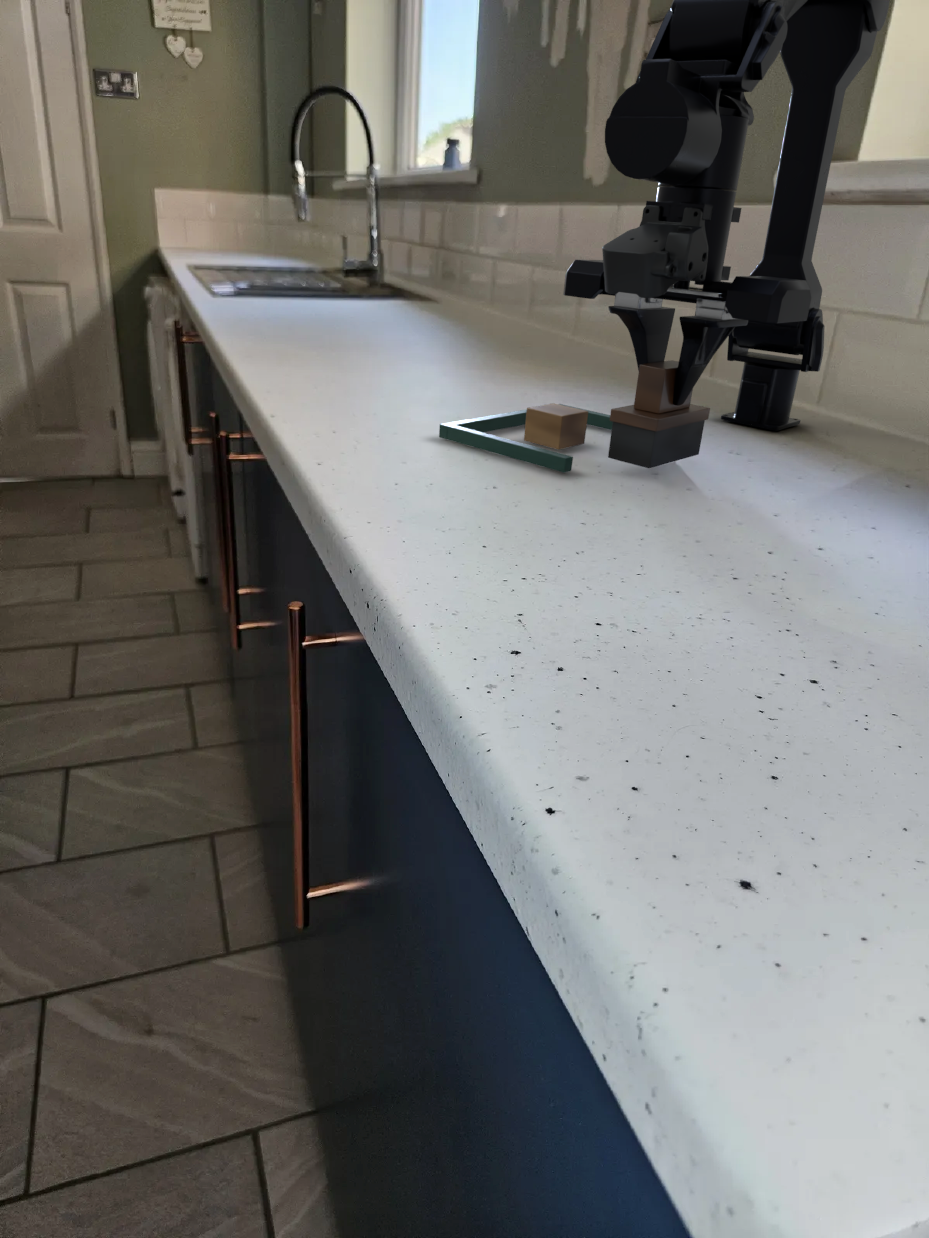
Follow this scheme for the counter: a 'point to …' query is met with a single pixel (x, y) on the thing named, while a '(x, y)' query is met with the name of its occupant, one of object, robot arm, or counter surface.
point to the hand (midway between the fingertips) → (663, 401)
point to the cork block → (555, 426)
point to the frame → (474, 436)
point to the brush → (656, 421)
